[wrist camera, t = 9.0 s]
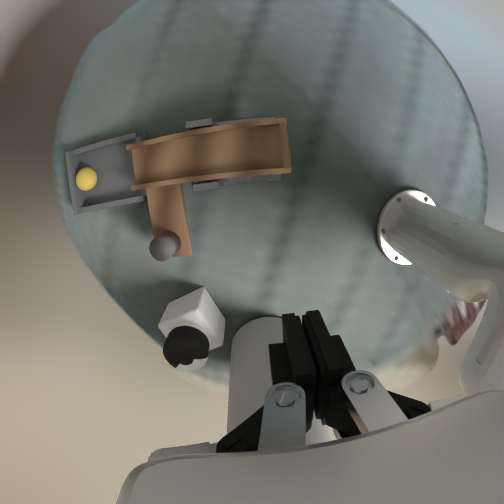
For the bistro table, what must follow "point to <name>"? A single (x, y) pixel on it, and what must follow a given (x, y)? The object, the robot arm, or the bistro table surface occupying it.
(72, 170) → the tray
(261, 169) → the lever
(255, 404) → the cylinder vase
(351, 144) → the bistro table surface
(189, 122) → the stand
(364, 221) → the bistro table surface
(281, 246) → the bistro table surface
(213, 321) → the medicine bottle
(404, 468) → the robot arm
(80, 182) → the ball
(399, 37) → the bistro table surface
